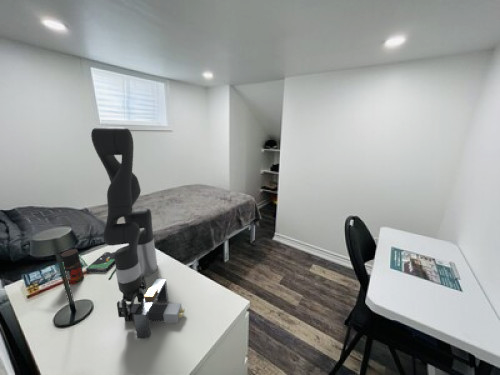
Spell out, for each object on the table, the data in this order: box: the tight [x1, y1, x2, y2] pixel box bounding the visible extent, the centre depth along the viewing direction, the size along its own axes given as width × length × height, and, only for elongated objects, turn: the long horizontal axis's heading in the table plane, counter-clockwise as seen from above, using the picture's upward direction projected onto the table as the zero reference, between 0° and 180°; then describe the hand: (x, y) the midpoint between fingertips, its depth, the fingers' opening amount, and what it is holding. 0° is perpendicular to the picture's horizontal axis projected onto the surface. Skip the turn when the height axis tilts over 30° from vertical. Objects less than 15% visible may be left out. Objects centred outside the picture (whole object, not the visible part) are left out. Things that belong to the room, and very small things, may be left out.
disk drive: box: [85, 251, 116, 273], centre depth 109 cm, size 10×3×15 cm
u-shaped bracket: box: [133, 278, 169, 339], centre depth 77 cm, size 17×4×12 cm, turn 0°
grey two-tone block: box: [127, 302, 185, 324], centre depth 78 cm, size 5×22×4 cm, turn 90°
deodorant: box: [60, 248, 85, 286], centre depth 95 cm, size 6×6×15 cm
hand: (135, 310), depth 78 cm, fingers open, 8 cm apart
